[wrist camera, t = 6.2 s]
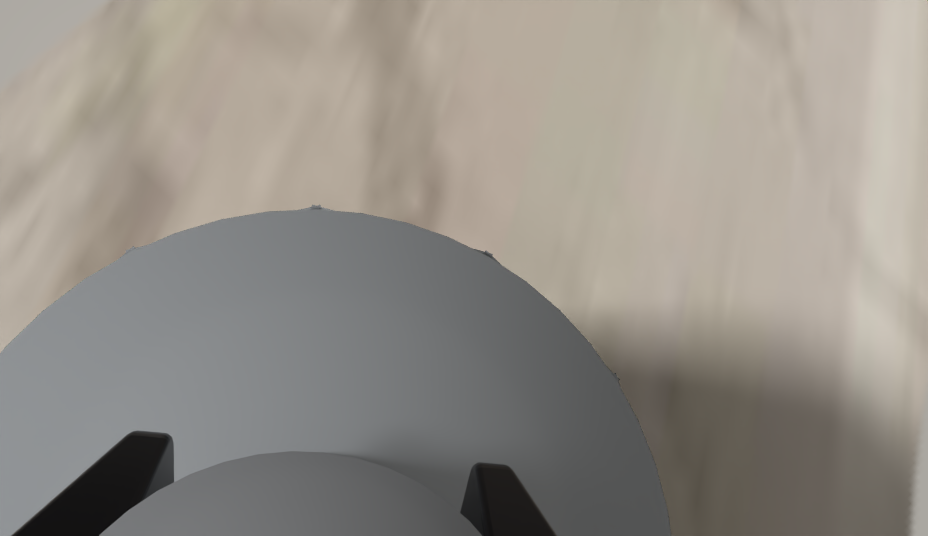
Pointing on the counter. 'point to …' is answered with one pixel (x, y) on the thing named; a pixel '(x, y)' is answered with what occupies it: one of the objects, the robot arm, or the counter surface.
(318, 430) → the slate cloche
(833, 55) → the counter surface
